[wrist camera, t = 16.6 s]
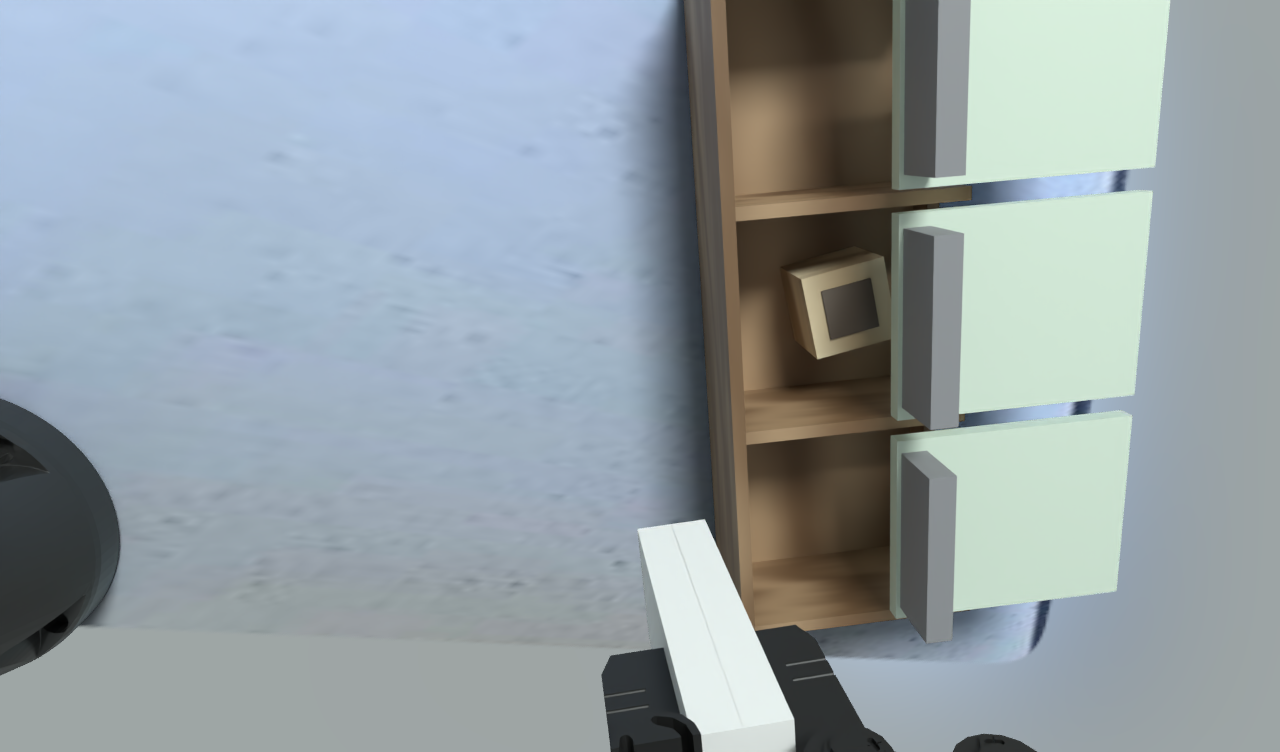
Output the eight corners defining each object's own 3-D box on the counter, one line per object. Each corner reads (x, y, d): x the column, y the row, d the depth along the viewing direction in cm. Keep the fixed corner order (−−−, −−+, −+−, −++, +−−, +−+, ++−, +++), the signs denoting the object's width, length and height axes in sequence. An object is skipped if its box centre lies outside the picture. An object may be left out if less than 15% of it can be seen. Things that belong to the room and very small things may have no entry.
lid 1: (891, 188, 35) (929, 194, 32) (892, -49, 33) (934, -73, 29) (1142, 166, 36) (1207, 169, 32) (1162, -68, 33) (1236, -94, 30)
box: (717, 568, 48) (743, 638, 41) (682, -23, 39) (707, -57, 32) (913, 545, 48) (970, 610, 42) (921, -40, 40) (994, -77, 33)
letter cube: (794, 340, 44) (818, 360, 40) (779, 266, 42) (801, 279, 38) (869, 319, 44) (900, 337, 40) (856, 245, 42) (886, 256, 39)
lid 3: (889, 610, 41) (921, 655, 37) (890, 435, 38) (925, 466, 35) (1106, 583, 42) (1158, 625, 38) (1121, 410, 39) (1178, 437, 36)
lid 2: (890, 415, 38) (925, 444, 34) (891, 212, 36) (929, 220, 32) (1123, 390, 39) (1181, 415, 35) (1140, 190, 36) (1204, 195, 33)
